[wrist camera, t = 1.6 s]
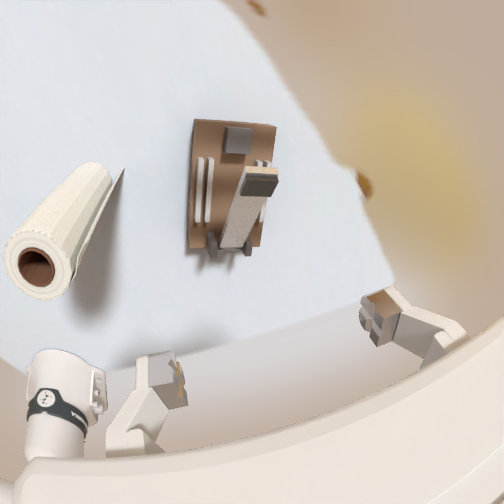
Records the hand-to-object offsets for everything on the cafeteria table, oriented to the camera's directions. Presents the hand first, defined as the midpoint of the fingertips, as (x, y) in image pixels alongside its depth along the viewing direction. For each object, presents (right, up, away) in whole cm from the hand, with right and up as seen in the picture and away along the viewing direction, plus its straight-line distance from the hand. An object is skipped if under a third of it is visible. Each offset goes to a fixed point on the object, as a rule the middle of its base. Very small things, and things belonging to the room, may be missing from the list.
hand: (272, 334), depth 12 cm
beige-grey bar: (-2, +8, +21) cm, 23 cm away
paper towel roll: (-22, +12, +24) cm, 34 cm away
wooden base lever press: (-4, +13, +29) cm, 32 cm away
